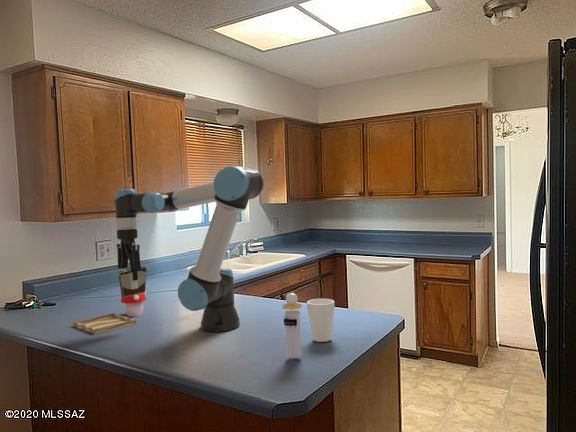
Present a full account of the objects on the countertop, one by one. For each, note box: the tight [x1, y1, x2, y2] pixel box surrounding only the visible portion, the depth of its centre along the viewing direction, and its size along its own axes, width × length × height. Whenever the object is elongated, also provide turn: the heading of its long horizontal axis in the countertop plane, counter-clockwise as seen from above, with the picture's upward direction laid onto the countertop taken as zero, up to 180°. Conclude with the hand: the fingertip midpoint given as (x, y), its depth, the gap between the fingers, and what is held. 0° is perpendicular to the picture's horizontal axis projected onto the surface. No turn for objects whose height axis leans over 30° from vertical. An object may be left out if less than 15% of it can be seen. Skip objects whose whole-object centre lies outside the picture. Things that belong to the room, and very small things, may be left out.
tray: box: [72, 312, 137, 335], centre depth 185 cm, size 20×17×2 cm
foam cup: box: [306, 298, 336, 343], centre depth 155 cm, size 10×9×13 cm
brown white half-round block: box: [116, 266, 148, 297], centre depth 175 cm, size 12×6×10 cm, turn 141°
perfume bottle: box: [282, 292, 302, 358], centre depth 138 cm, size 6×6×20 cm
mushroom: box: [120, 290, 147, 318], centre depth 200 cm, size 11×11×12 cm
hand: (130, 287), depth 175 cm, fingers closed on brown white half-round block, 6 cm apart
